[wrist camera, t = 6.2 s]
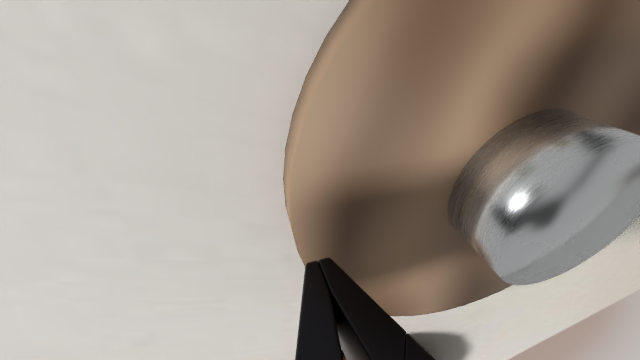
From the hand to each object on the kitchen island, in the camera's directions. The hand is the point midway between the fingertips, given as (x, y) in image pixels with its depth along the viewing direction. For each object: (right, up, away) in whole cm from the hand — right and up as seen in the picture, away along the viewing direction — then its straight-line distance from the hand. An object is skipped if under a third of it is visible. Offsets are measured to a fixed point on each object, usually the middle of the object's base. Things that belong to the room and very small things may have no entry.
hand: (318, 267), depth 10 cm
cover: (+9, +3, +4) cm, 10 cm away
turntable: (+9, +4, +5) cm, 11 cm away
